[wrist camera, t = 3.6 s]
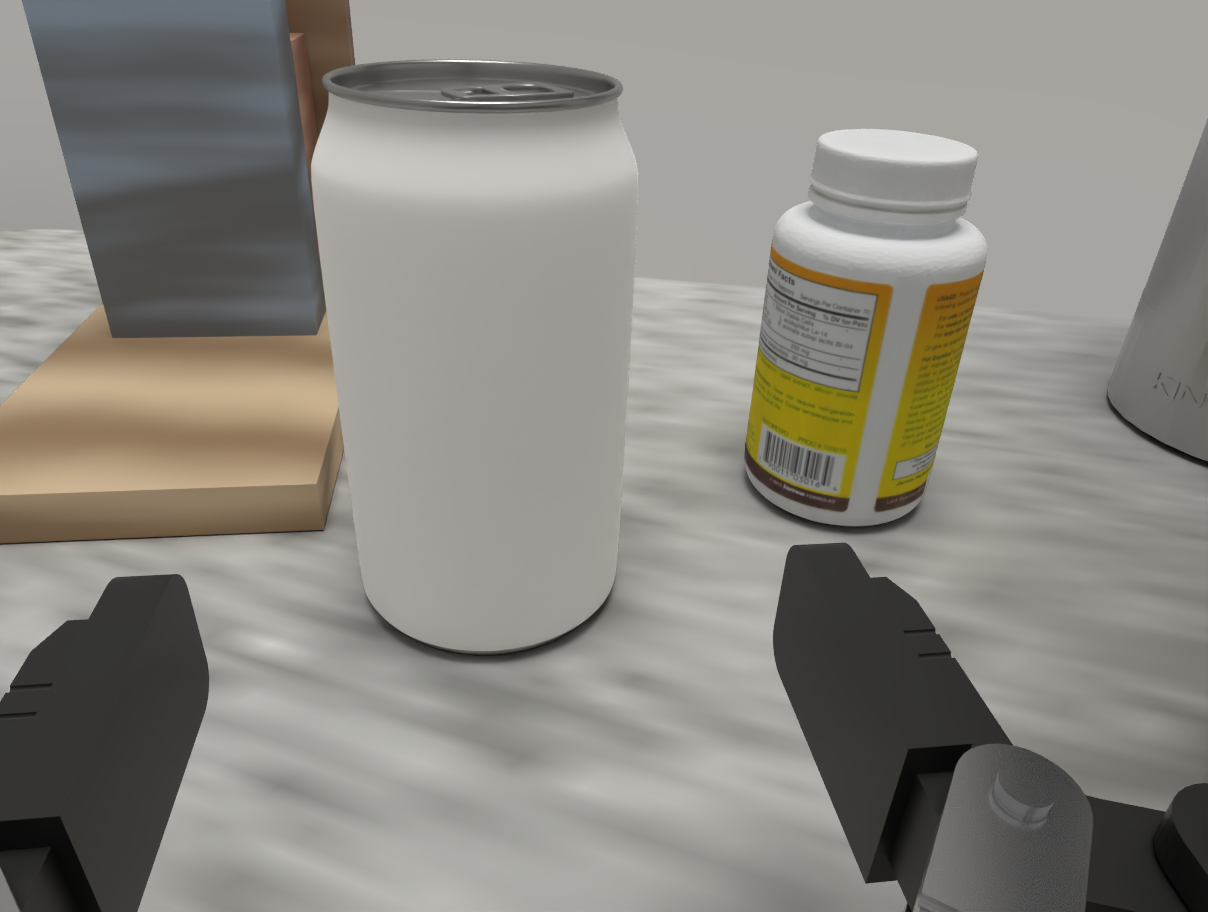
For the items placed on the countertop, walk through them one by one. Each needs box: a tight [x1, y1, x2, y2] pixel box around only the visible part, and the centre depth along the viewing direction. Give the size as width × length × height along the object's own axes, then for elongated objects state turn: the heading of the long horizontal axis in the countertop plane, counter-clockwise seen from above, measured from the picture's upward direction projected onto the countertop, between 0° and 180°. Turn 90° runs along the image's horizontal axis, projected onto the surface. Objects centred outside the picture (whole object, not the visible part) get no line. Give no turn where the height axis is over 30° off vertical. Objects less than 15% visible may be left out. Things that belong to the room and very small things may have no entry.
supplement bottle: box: [744, 129, 987, 526], centre depth 25 cm, size 6×6×10 cm
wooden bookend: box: [0, 0, 355, 543], centre depth 27 cm, size 17×10×14 cm, turn 7°
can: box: [311, 60, 639, 655], centre depth 20 cm, size 6×6×12 cm
